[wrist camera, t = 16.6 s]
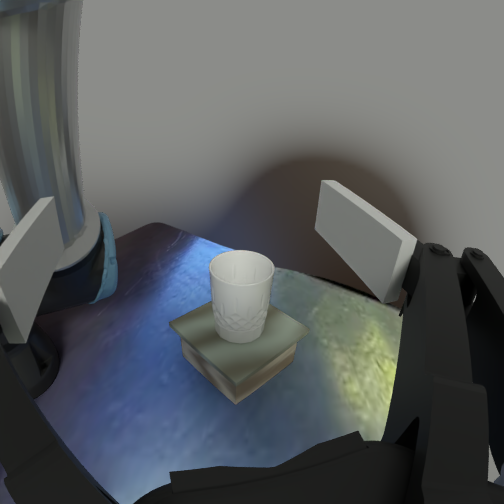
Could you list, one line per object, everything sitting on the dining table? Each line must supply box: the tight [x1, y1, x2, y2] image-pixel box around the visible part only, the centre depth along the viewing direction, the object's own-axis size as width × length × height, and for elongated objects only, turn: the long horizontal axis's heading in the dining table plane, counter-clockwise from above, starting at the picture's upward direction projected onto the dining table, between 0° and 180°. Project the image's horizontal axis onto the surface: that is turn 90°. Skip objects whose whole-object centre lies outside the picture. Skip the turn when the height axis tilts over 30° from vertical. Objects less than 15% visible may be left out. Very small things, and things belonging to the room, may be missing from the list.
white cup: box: [209, 250, 274, 344], centre depth 41 cm, size 8×8×10 cm
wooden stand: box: [169, 301, 309, 405], centre depth 46 cm, size 14×14×7 cm
